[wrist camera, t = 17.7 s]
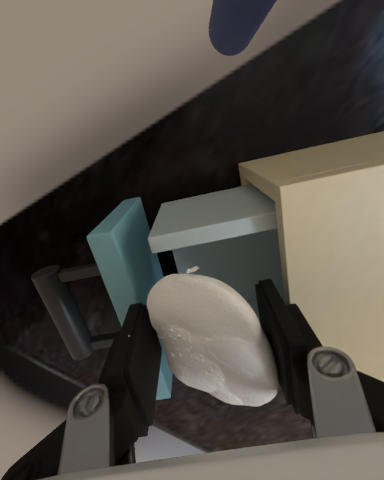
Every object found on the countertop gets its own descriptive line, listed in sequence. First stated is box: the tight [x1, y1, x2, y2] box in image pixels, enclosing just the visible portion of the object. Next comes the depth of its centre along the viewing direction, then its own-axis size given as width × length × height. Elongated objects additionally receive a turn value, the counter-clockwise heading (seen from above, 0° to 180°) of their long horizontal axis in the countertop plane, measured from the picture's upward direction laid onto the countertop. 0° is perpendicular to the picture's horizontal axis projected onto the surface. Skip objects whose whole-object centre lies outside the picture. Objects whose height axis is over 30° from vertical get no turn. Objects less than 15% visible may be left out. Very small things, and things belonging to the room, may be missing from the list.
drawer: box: [31, 184, 285, 400], centre depth 16 cm, size 18×10×7 cm, turn 102°
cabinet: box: [238, 131, 384, 382], centre depth 15 cm, size 14×12×9 cm
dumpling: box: [128, 266, 278, 406], centre depth 11 cm, size 7×5×4 cm
